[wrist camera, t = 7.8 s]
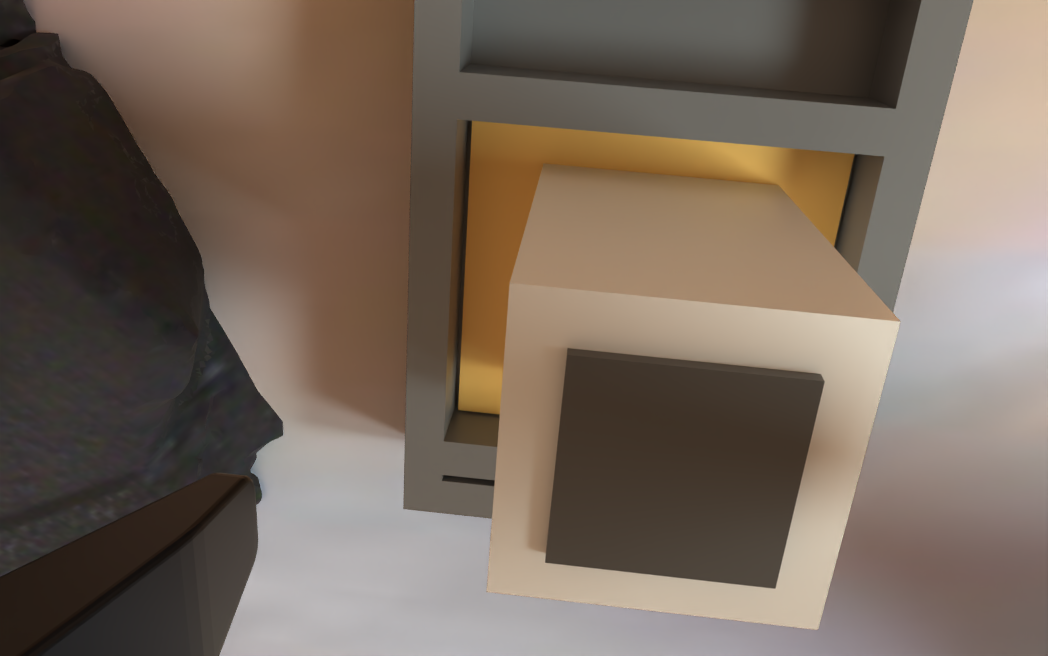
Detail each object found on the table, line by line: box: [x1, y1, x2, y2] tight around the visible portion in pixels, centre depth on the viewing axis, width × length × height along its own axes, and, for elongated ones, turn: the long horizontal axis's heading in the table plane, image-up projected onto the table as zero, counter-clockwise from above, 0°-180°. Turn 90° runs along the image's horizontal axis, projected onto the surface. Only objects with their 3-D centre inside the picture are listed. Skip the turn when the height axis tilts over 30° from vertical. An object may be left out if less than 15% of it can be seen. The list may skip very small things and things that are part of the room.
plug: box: [487, 163, 901, 630], centre depth 14 cm, size 4×4×7 cm
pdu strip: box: [404, 0, 973, 518], centre depth 13 cm, size 20×9×8 cm, turn 176°
